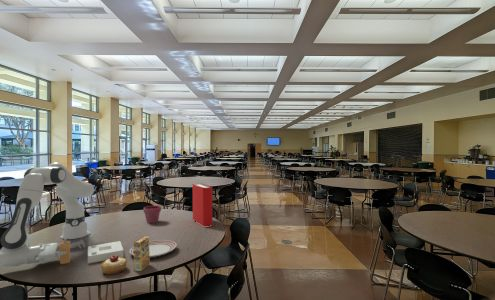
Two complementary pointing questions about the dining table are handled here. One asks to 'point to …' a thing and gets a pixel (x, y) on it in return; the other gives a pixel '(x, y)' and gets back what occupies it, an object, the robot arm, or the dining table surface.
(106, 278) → the dining table surface
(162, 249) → the dinner plate
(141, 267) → the candy box
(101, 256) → the housing
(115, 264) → the pastry
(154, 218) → the plant pot
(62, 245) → the block
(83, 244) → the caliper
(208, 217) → the book
